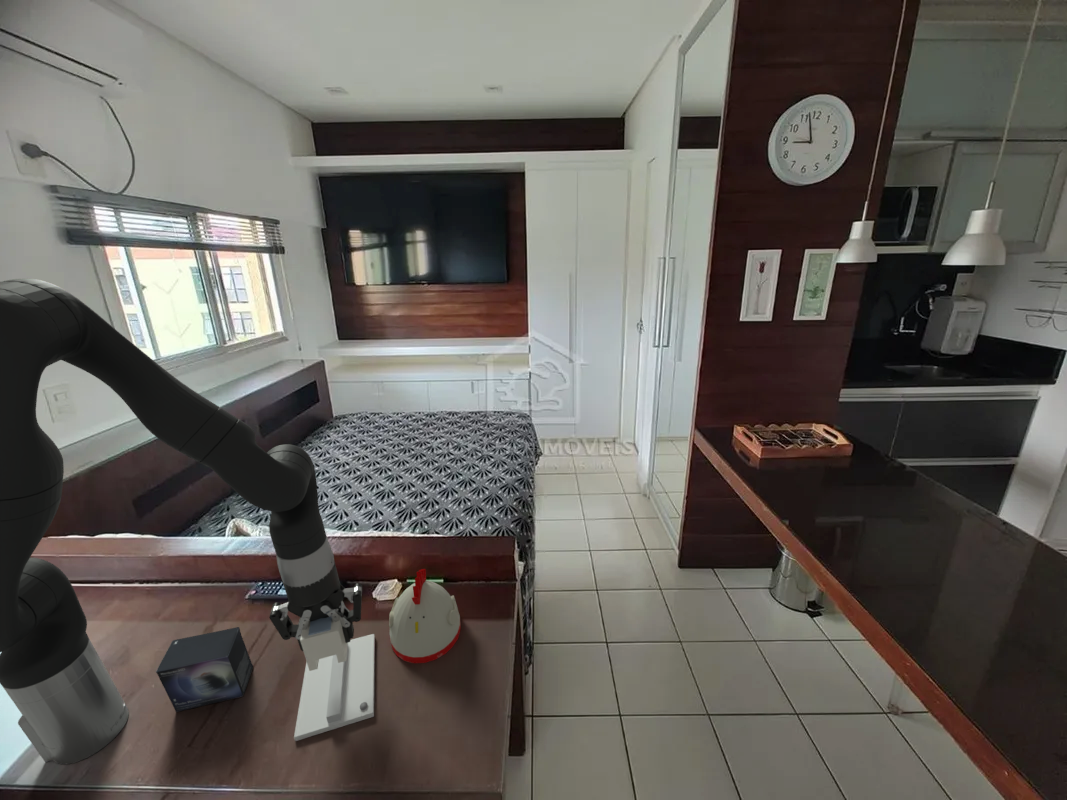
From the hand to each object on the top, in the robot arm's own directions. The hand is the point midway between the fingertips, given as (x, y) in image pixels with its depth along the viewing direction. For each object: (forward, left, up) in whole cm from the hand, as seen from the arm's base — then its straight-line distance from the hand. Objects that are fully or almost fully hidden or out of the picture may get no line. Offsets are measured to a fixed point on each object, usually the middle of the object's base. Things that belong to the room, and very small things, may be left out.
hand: (329, 643), depth 75 cm
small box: (-21, +6, -11) cm, 24 cm away
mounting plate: (0, 0, -10) cm, 10 cm away
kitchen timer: (+16, +6, -11) cm, 20 cm away
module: (0, 0, -1) cm, 1 cm away
